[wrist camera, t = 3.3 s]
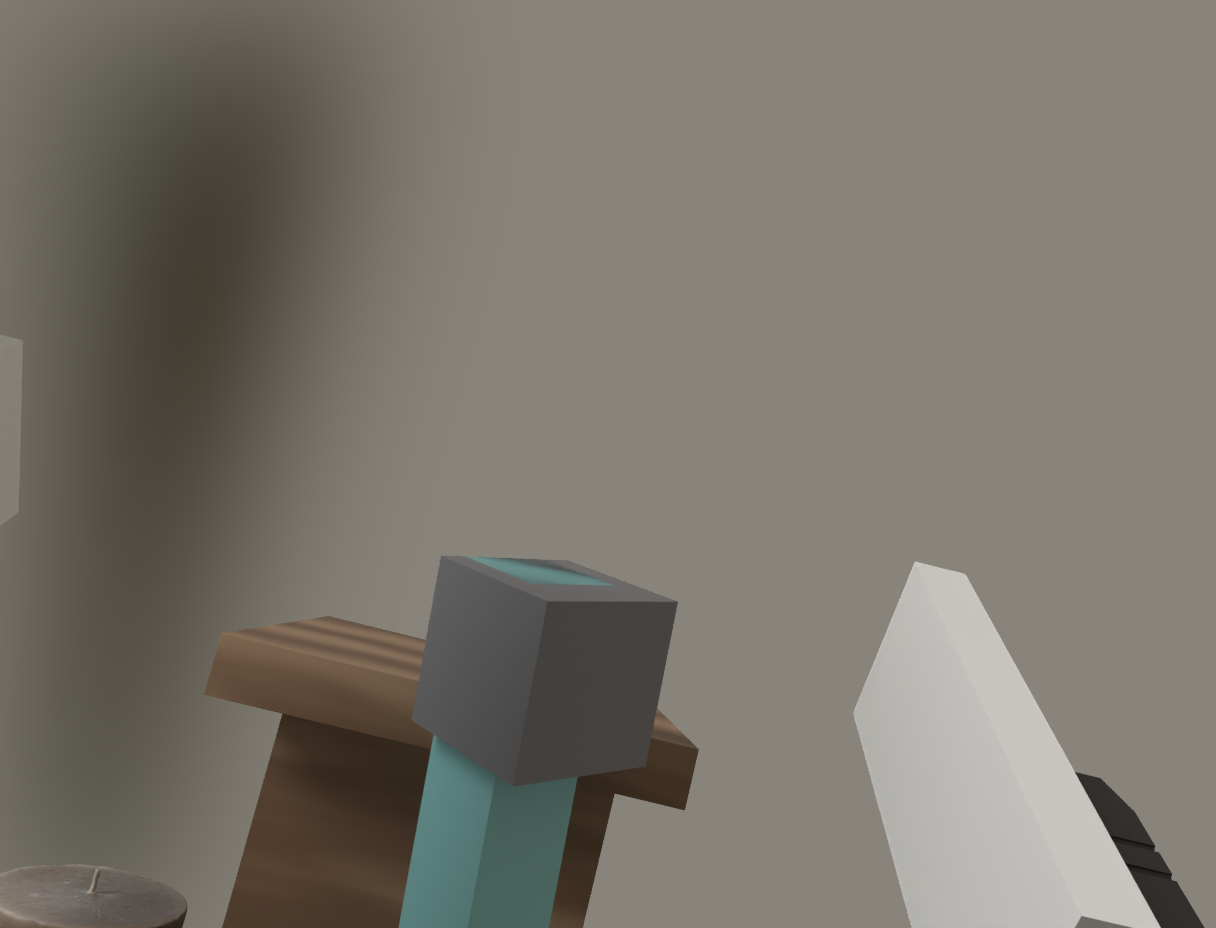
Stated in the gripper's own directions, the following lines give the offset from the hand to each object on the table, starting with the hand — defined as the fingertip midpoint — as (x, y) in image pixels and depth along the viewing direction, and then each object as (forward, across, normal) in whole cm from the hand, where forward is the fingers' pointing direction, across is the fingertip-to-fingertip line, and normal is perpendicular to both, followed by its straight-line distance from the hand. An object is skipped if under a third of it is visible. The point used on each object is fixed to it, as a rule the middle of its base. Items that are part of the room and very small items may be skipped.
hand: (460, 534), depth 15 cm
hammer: (+11, +1, -19) cm, 22 cm away
